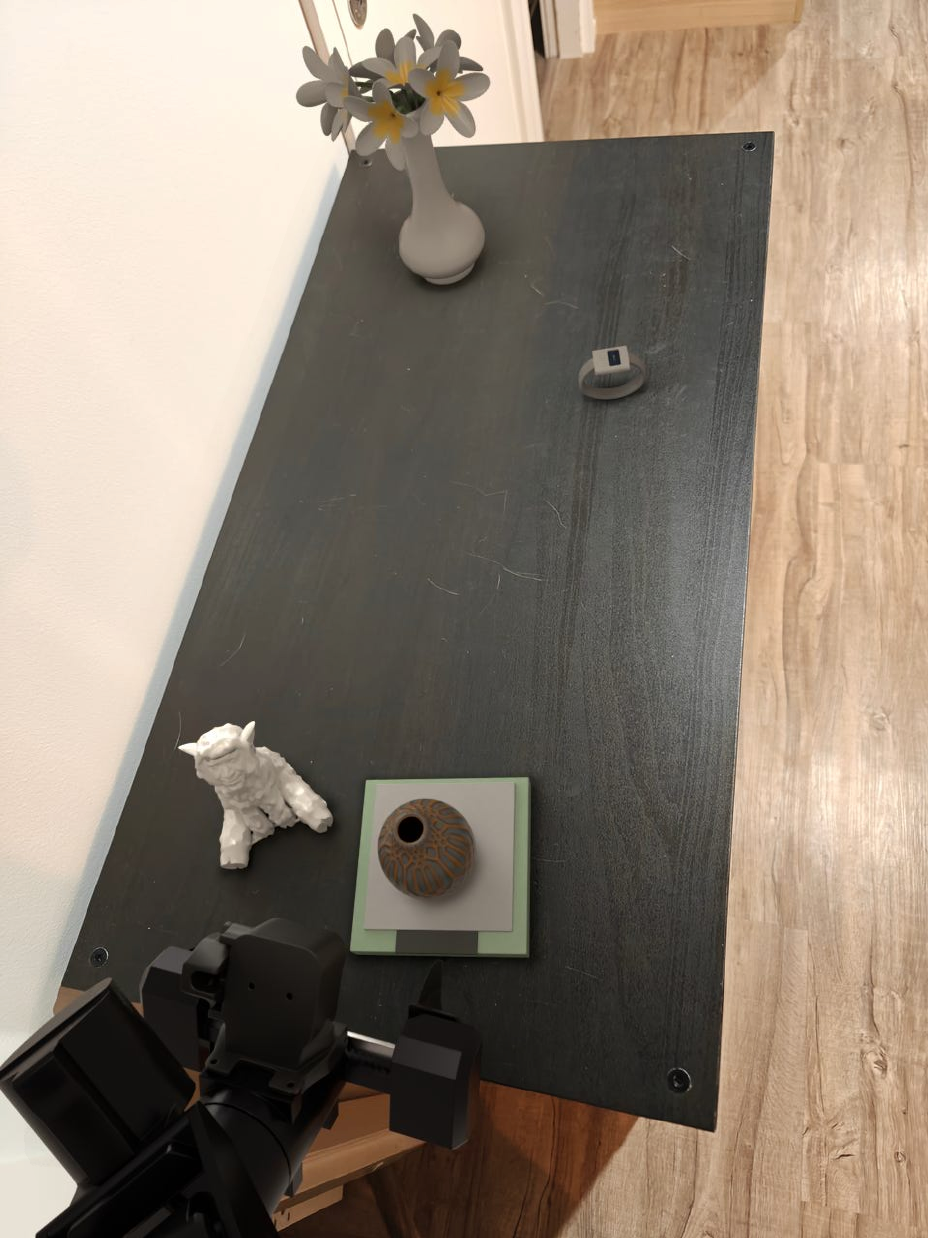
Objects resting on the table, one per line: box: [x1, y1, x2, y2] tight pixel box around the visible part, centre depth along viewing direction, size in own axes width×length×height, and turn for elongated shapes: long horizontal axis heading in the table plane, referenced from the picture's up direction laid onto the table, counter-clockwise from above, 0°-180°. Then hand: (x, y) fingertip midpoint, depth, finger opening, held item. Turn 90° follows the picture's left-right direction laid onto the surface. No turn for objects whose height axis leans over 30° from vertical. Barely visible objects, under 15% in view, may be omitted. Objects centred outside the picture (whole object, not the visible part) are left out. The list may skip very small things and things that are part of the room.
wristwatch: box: [578, 345, 647, 400], centre depth 88 cm, size 6×3×5 cm, turn 92°
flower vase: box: [295, 13, 491, 286], centre depth 92 cm, size 13×18×25 cm
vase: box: [378, 798, 476, 900], centre depth 67 cm, size 7×7×9 cm
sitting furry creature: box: [177, 720, 334, 870], centre depth 72 cm, size 10×9×12 cm
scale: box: [349, 776, 532, 959], centre depth 71 cm, size 13×13×2 cm
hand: (368, 948), depth 58 cm, fingers open, 9 cm apart
